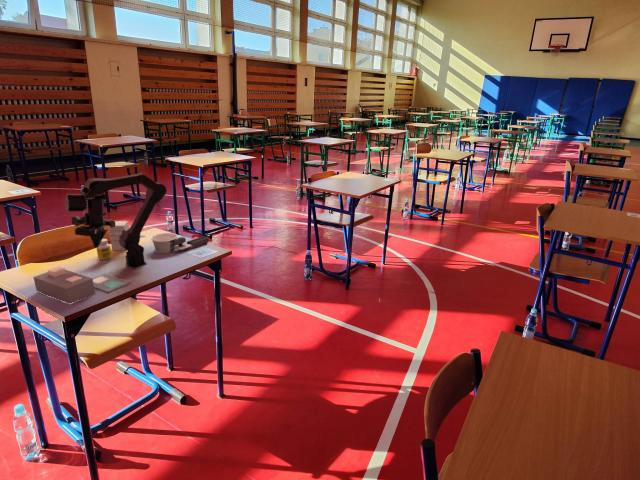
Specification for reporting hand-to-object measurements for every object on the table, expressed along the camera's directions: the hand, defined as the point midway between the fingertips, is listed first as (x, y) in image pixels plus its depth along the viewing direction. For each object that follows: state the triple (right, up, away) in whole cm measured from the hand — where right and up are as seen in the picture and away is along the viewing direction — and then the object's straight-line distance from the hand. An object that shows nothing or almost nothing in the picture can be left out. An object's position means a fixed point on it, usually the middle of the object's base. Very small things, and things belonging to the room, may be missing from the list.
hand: (96, 247), depth 172 cm
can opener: (+29, -1, +35) cm, 46 cm away
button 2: (+1, -15, -16) cm, 22 cm away
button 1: (-8, -12, -12) cm, 19 cm away
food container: (+17, -2, +31) cm, 35 cm away
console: (-4, -17, -14) cm, 22 cm away
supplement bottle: (-5, -6, +17) cm, 19 cm away
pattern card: (+7, -14, -5) cm, 17 cm away
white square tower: (-5, -1, +32) cm, 33 cm away
